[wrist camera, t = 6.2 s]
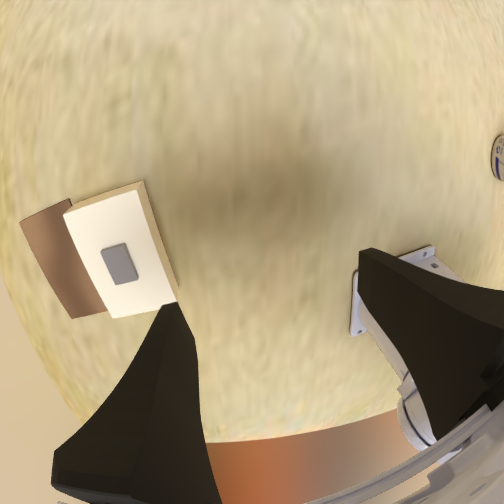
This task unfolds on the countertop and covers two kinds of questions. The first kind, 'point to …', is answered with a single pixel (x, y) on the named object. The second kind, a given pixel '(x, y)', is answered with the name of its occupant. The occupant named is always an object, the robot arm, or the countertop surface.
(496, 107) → the countertop surface
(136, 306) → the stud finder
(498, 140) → the energy drink
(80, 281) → the brown flat slab
